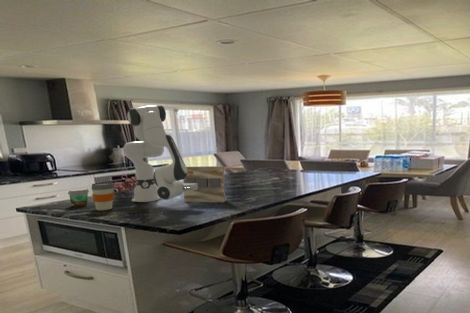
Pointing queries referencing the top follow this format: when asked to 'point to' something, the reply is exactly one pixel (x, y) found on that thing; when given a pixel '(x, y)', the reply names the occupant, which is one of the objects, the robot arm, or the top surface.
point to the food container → (78, 197)
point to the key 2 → (215, 182)
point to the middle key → (202, 182)
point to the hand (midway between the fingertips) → (185, 184)
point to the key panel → (208, 192)
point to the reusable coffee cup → (103, 195)
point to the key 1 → (191, 180)
